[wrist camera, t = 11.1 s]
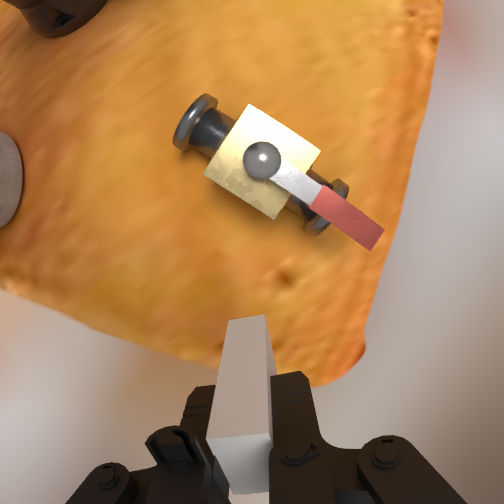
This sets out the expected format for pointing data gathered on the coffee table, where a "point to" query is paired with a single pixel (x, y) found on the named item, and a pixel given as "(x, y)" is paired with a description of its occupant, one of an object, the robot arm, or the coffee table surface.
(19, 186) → the planter
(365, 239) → the lever
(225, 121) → the valve body
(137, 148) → the coffee table surface
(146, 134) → the coffee table surface
